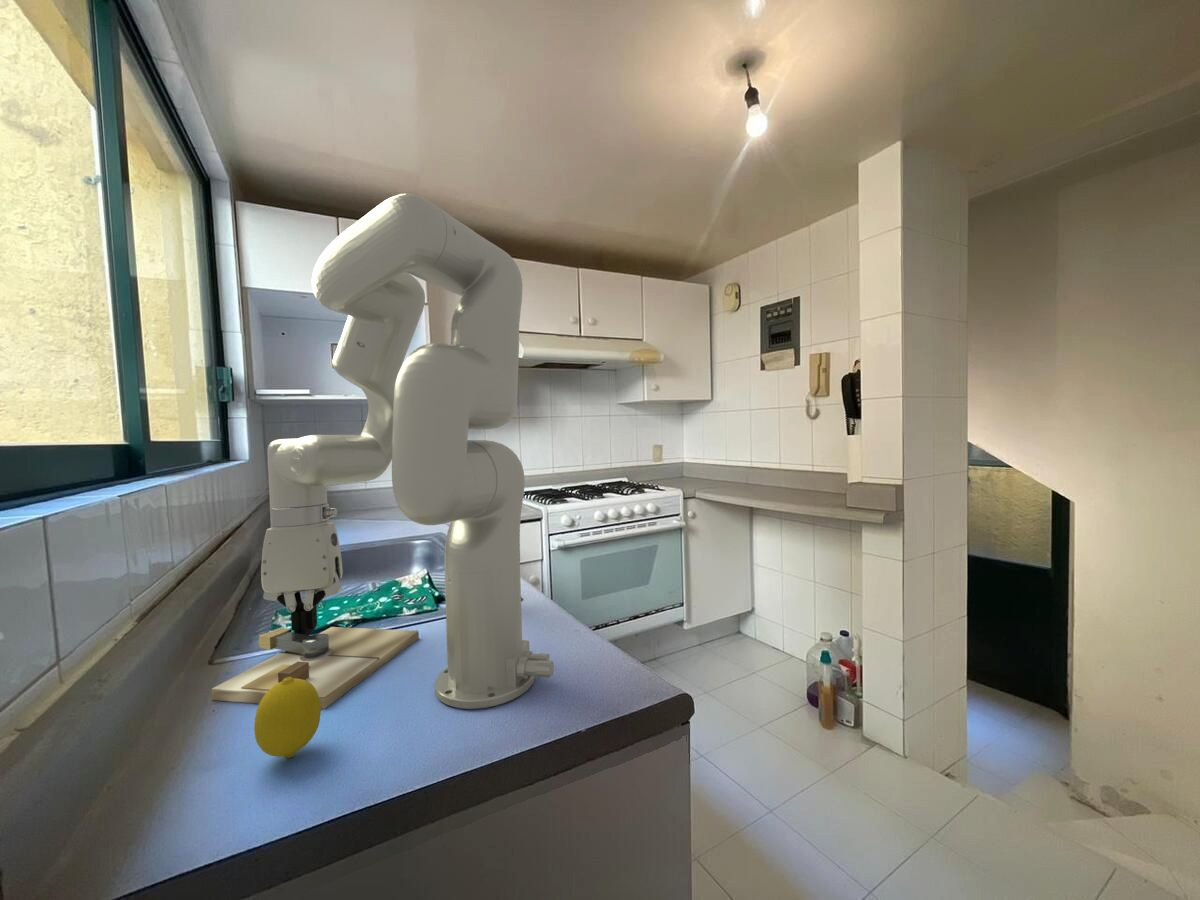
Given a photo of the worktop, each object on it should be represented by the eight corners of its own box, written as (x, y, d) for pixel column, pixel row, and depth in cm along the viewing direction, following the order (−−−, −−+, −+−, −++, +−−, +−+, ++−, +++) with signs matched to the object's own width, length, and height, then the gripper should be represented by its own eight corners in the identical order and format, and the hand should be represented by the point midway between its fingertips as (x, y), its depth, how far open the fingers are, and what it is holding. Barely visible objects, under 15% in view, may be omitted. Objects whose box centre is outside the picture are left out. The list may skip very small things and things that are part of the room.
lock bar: (334, 648, 67) (333, 635, 67) (313, 658, 64) (313, 644, 64) (281, 638, 71) (280, 626, 71) (259, 647, 68) (259, 634, 68)
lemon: (289, 780, 43) (286, 695, 42) (240, 773, 44) (238, 690, 44) (334, 742, 48) (332, 666, 48) (290, 736, 49) (288, 663, 49)
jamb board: (418, 638, 74) (418, 617, 74) (324, 708, 54) (323, 680, 54) (331, 633, 77) (331, 613, 77) (212, 699, 57) (211, 672, 57)
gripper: (359, 511, 76) (364, 620, 76) (260, 517, 73) (264, 630, 73) (342, 517, 69) (347, 638, 69) (231, 524, 66) (236, 650, 66)
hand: (304, 633), depth 71 cm, fingers closed
